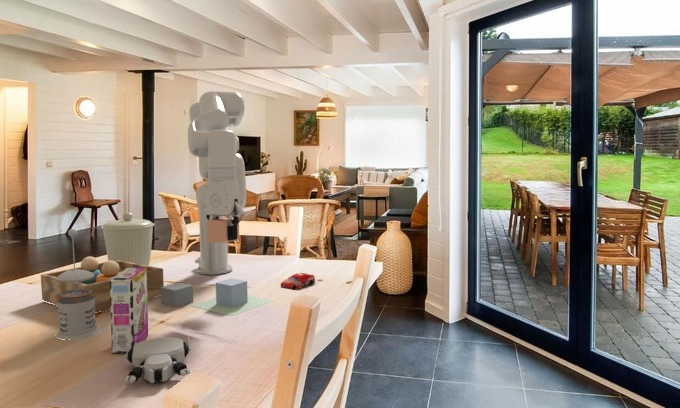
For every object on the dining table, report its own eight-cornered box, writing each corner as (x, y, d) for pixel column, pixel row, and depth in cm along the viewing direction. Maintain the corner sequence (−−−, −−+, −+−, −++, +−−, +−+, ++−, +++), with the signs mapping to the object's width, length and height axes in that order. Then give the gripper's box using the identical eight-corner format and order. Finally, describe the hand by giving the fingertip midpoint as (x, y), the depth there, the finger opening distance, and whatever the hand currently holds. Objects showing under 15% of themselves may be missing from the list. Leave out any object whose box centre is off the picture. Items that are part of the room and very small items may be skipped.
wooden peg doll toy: (155, 293, 158) (153, 252, 157) (112, 309, 142) (110, 264, 140) (108, 287, 164) (106, 249, 163) (63, 302, 148) (60, 259, 147)
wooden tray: (42, 302, 148) (40, 274, 147) (118, 284, 168) (117, 259, 167) (87, 315, 135) (86, 286, 135) (164, 294, 155) (163, 268, 154)
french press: (52, 342, 116) (45, 233, 114) (57, 327, 127) (51, 226, 124) (100, 336, 120) (94, 230, 118) (101, 321, 131) (96, 224, 128)
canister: (150, 262, 201) (148, 208, 199) (161, 271, 186) (158, 213, 184) (100, 267, 192) (97, 211, 190) (106, 277, 176) (103, 216, 174)
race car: (289, 293, 158) (288, 280, 158) (276, 290, 162) (276, 277, 161) (318, 284, 168) (318, 272, 168) (306, 281, 172) (305, 269, 171)
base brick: (216, 304, 141) (215, 282, 141) (232, 298, 146) (231, 278, 146) (231, 307, 138) (231, 285, 138) (247, 302, 143) (247, 281, 143)
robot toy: (193, 387, 96) (189, 352, 110) (192, 365, 96) (189, 332, 109) (122, 397, 92) (127, 359, 106) (121, 374, 92) (126, 339, 106)
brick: (208, 241, 144) (207, 219, 143) (224, 238, 149) (223, 217, 148) (223, 242, 140) (222, 220, 140) (239, 240, 145) (238, 218, 145)
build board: (189, 310, 140) (189, 305, 140) (232, 296, 153) (232, 292, 153) (232, 320, 131) (231, 315, 131) (273, 304, 145) (273, 300, 145)
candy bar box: (135, 353, 110) (132, 278, 108) (111, 354, 110) (107, 278, 108) (150, 335, 121) (147, 266, 119) (128, 335, 121) (125, 267, 119)
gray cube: (161, 308, 142) (160, 287, 141) (179, 303, 147) (178, 282, 146) (175, 312, 139) (175, 290, 138) (193, 306, 144) (192, 285, 143)
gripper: (190, 174, 145) (192, 238, 146) (234, 175, 135) (236, 243, 137) (211, 174, 151) (213, 235, 152) (254, 174, 141) (256, 239, 143)
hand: (224, 238), depth 145 cm, fingers closed on brick, 6 cm apart
